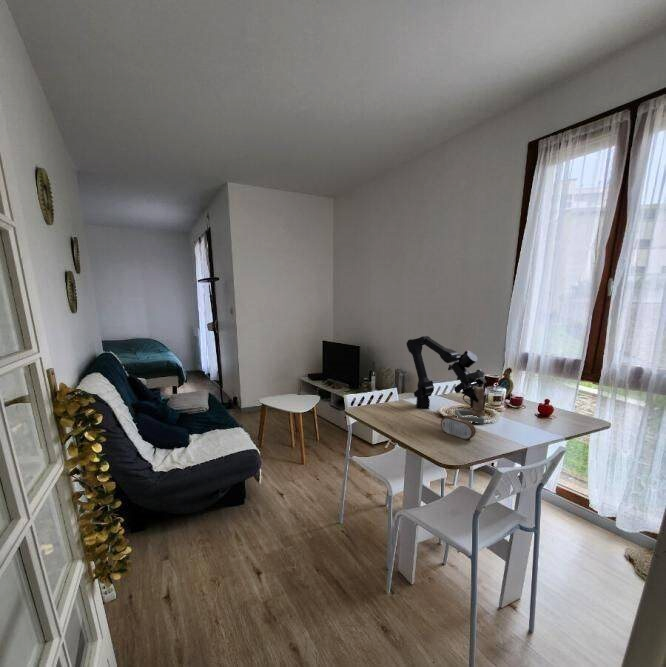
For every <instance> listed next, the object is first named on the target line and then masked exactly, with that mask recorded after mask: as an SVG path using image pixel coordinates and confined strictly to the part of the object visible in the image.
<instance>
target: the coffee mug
mask: <svg viewBox="0 0 666 667" xmlns="http://www.w3.org/2000/svg"><path fill="white" fill-rule="evenodd" d="M487 395H488V393H487V392H485V391H484V397H485V400H484V401H483V411H484V412H485V406H486V401H487ZM465 396H466V395H464V394H463V395H462V400H463V401H464V402H465V403H466V404H467V405H469V406H470V408H473V399H471V398H469V399H470V400H469V402H470V403H469V402H468V401H466V400H465ZM466 397H467V396H466Z"/></svg>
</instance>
